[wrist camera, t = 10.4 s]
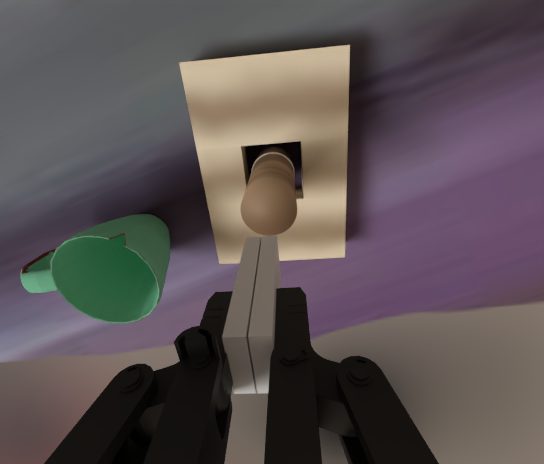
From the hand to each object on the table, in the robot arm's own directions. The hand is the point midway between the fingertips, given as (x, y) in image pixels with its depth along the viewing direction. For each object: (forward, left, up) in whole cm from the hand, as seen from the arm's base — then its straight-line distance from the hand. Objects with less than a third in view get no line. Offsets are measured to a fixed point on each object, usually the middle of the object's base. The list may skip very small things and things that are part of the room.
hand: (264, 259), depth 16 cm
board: (0, 0, -18) cm, 18 cm away
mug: (+7, -18, -19) cm, 27 cm away
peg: (0, 0, -18) cm, 18 cm away
